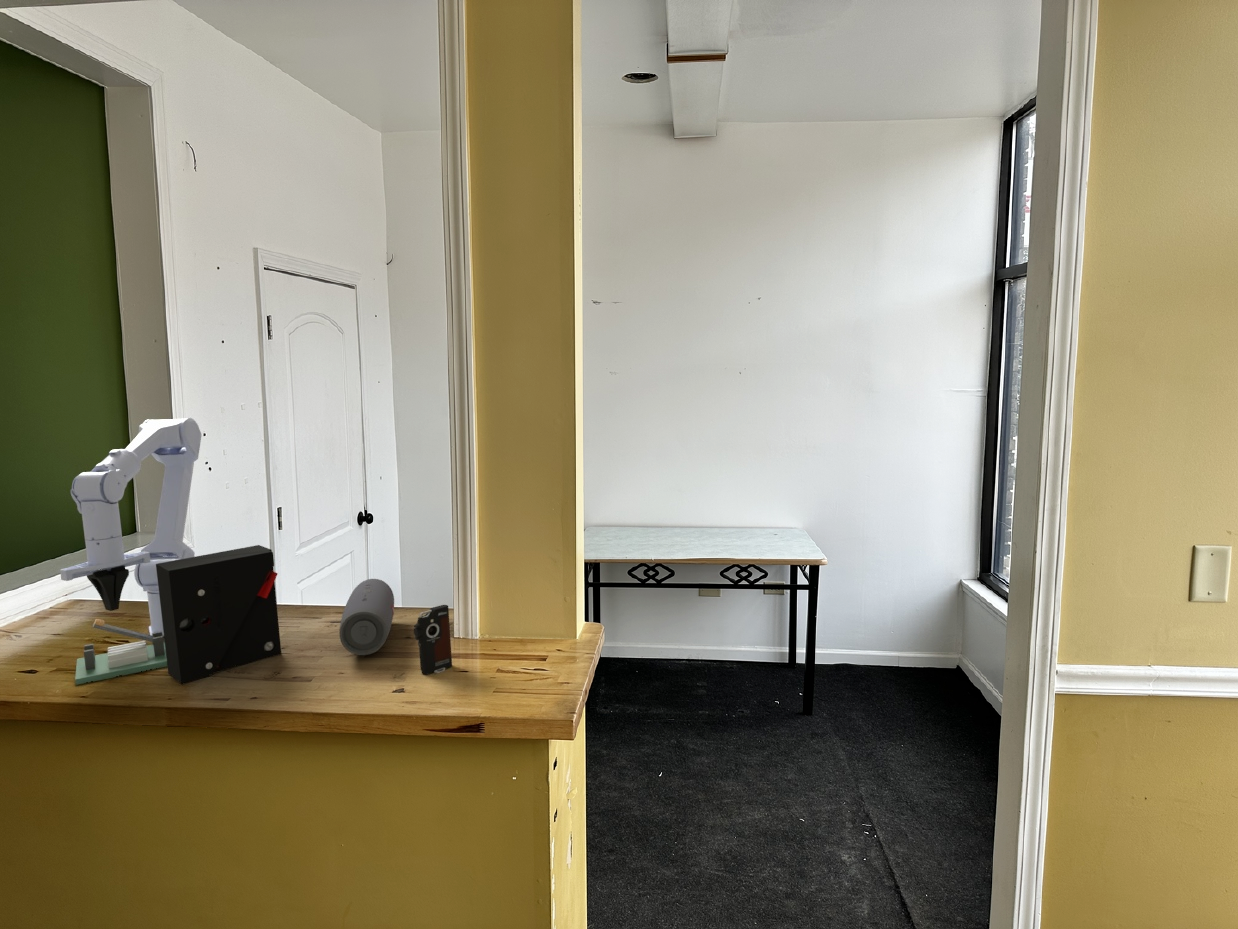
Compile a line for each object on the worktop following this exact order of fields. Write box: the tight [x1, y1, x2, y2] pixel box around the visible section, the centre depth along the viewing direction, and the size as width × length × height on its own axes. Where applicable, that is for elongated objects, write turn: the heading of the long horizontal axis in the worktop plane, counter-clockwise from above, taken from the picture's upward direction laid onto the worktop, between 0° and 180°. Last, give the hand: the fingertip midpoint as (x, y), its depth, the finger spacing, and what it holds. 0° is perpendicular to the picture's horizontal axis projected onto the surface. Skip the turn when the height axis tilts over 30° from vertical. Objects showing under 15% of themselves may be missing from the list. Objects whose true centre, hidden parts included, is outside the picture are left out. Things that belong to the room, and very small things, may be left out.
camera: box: [413, 604, 453, 676], centre depth 140 cm, size 6×3×11 cm, turn 127°
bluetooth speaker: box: [338, 578, 395, 656], centre depth 156 cm, size 23×9×10 cm, turn 13°
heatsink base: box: [74, 631, 168, 686], centre depth 148 cm, size 16×12×4 cm
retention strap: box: [92, 618, 155, 643], centre depth 148 cm, size 12×2×1 cm, turn 123°
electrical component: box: [156, 544, 282, 685], centre depth 146 cm, size 18×10×20 cm, turn 135°
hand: (112, 609), depth 149 cm, fingers closed
